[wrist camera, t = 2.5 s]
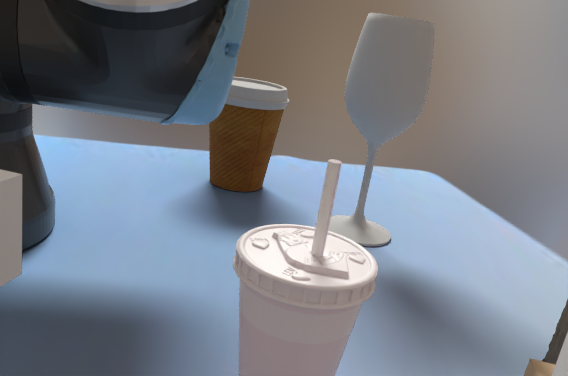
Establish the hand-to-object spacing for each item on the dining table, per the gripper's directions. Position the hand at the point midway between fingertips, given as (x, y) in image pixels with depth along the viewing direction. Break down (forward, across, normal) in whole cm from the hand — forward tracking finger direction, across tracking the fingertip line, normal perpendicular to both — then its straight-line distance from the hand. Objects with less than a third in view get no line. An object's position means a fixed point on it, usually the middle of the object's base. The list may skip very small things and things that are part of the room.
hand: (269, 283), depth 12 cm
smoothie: (+10, 0, -13) cm, 17 cm away
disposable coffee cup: (+46, -13, -13) cm, 50 cm away
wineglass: (+39, +2, -13) cm, 41 cm away
